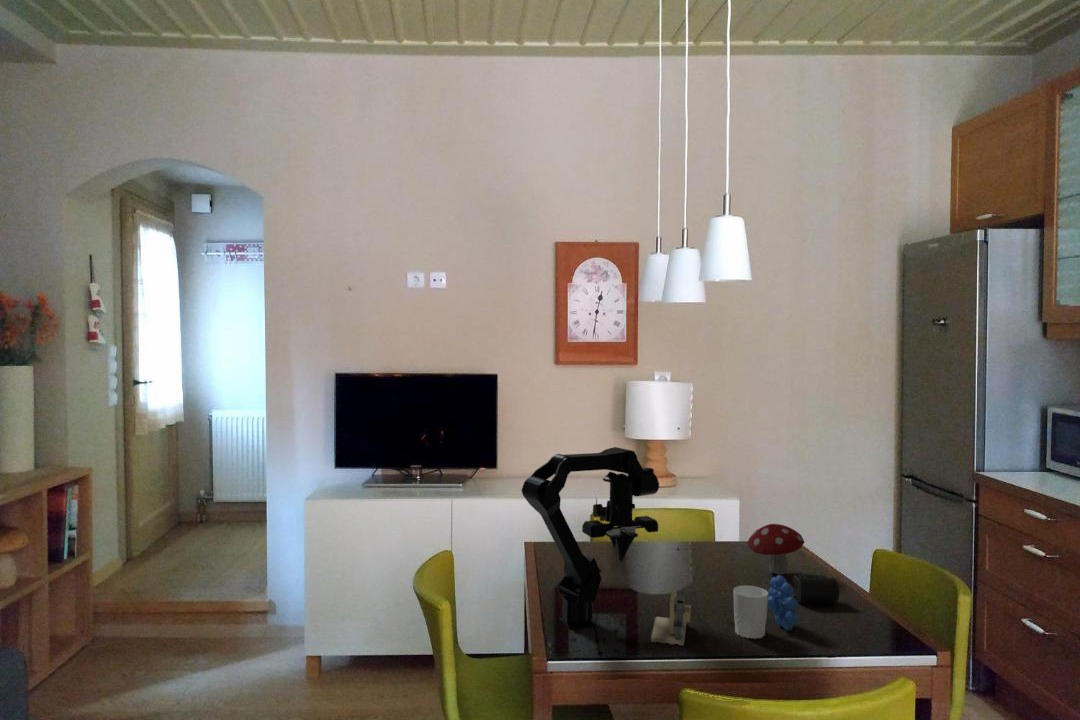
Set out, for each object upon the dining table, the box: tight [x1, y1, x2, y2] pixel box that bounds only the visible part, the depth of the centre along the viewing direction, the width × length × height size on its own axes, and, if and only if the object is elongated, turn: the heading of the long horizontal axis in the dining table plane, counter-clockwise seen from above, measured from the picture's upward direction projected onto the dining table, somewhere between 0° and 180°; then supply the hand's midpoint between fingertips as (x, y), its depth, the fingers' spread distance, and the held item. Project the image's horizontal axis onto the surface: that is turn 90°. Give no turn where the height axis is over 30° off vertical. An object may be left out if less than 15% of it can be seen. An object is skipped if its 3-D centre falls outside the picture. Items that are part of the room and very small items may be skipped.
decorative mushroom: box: [747, 523, 805, 575], centre depth 215 cm, size 16×16×15 cm
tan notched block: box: [669, 587, 692, 634], centre depth 171 cm, size 4×8×8 cm, turn 166°
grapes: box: [767, 574, 799, 631], centre depth 176 cm, size 12×7×12 cm, turn 11°
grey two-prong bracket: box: [674, 595, 685, 640], centre depth 171 cm, size 2×12×6 cm, turn 166°
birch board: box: [650, 616, 687, 646], centre depth 172 cm, size 7×13×1 cm, turn 166°
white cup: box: [732, 585, 769, 640], centre depth 172 cm, size 8×8×10 cm
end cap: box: [792, 574, 840, 605], centre depth 193 cm, size 10×7×7 cm
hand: (619, 560), depth 184 cm, fingers closed
